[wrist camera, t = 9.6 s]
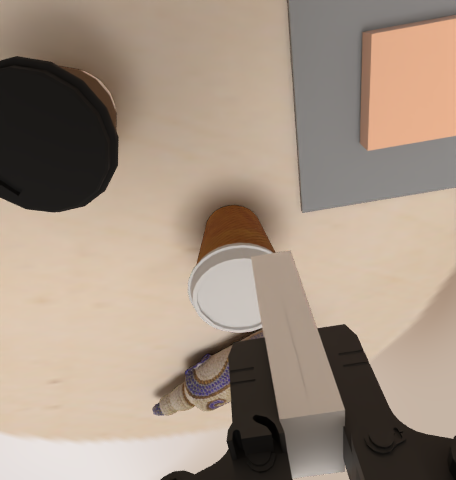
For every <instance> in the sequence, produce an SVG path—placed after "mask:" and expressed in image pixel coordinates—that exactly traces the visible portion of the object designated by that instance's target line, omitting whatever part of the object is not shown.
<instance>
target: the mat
mask: <svg viewBox="0 0 456 480" xmlns="http://www.w3.org/2000/svg"><path fill="white" fill-rule="evenodd" d="M287 1H288V16H289V31H290V46H291V61H292V76H293V91H294V106H295V121H296V136H297V151H298V166H299V181H300V196H301V211H302V213H305V212H311V211H317V210H323V209H329V208H335V207H341V206H347V205H353V204H359V203H365V202H371V201H377V200H383V199H389V198H395V197H401V196H407V195H413V194H419V193H425V192H432V191H438V190H444V189H450V188H456V136H452V137H446V138H440V139H434V140H428V141H423V142H417V143H411V144H405V145H399V146H393V147H388V148H382V149H376V150H370V151H367V150H366V149H365V148H364V147H363V146H362V145H361V144H360V118H361V75H362V32H366V31H371V30H376V29H382V28H387V27H393V26H398V25H404V24H409V23H414V22H420V21H425V20H431V19H436V18H441V17H447V16H452V15H456V0H287Z"/></svg>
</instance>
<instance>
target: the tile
mask: <svg viewBox="0 0 456 480" xmlns="http://www.w3.org/2000/svg"><path fill="white" fill-rule="evenodd" d="M452 136H456V15H452V16H447V17H441V18H436V19H431V20H425V21H420V22H414V23H409V24H404V25H398V26H393V27H387V28H382V29H376V30H371V31H366V32H362V75H361V118H360V144H361V145H362V146H363V147H364V148H365V149H366V150H367V151H370V150H376V149H382V148H388V147H393V146H399V145H405V144H411V143H417V142H423V141H428V140H434V139H440V138H446V137H452Z"/></svg>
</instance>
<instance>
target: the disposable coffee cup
mask: <svg viewBox="0 0 456 480" xmlns="http://www.w3.org/2000/svg"><path fill="white" fill-rule="evenodd" d="M271 253H276V252H275V251H274V249H273V247H272V245H271V243H270V241H269V239H268V237H267V235H266V233H265V231H264V229H263V227H262V226H261V224H260V222H259V220H258V218H257V216H256V215H255V214H254V213H253V212H252V211H251V210H249V209H247V208H245V207H242V206H237V205H231V206H225V207H222V208H220V209H218V210H216V211H215V212H214V213H213V214H212V215H211V216H210V217H209V219H208V221H207V223H206V228H205V232H204V236H203V240H202V244H201V248H200V252H199V256H198V260H197V265H196V266H195V267H194V269H193V270H192V273H191V275H190V277H189V282H188V295H189V299H190V301H191V303H192V305H193V307H194V308H195V310H196V312H197V313H198V315H199V316H200V317H201V319H202V320H203V321H205V322H206V323H207V324H209V325H210V326H212V327H214V328H216V329H219V330H222V331H228V332H234V333H243V332H250V331H254V330H257V329H260V328H262V323H261V318H260V312H259V306H258V299H257V293H256V287H255V280H254V274H253V268H252V261H251V257H253V256H259V255H265V254H271Z"/></svg>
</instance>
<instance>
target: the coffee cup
mask: <svg viewBox="0 0 456 480" xmlns="http://www.w3.org/2000/svg"><path fill="white" fill-rule="evenodd" d="M116 115H117V113H116V106H115V104H114V101H113V98H112V96H111V93H110V91H109V90H108V89H107V88H106V87H105V85H104V84H103V83H102V82H101V81H100V80H99V79H98V78H96V77H94V76H93V75H91V74H89V73H87V72H86V71H81V70H79V69H75V68H69V67H63V66H57V65H56V64H54V63H52V62H48V61H42V60H36V59H30V58H24V57H18V56H16V57H12V58H9V59H5V60H1V61H0V198H2V199H5V200H7V201H9V202H11V203H14V204H16V205H18V206H20V207H23V208H25V209H29V210H37V211H46V212H62V211H66V210H70V209H74V208H79V207H83V206H86V205H87V204H88V203H90V202H91V201H92V200H93V199H95V198H96V197H97V196H99V195H100V194H101V193H103V192H104V191H105V190H106V188H107V186H108V184H109V182H110V180H111V178H112V176H113V174H114V172H115V170H116V168H117V166H118V135H117V132H116Z"/></svg>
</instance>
